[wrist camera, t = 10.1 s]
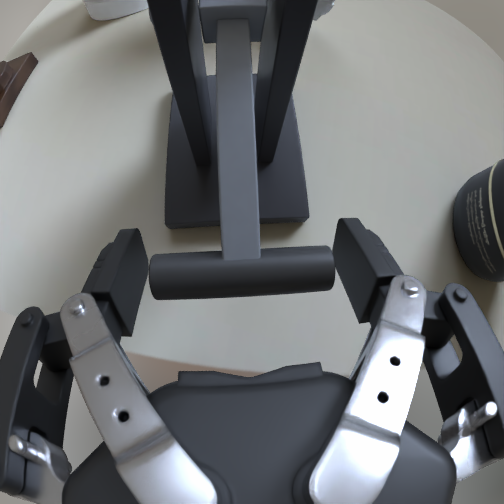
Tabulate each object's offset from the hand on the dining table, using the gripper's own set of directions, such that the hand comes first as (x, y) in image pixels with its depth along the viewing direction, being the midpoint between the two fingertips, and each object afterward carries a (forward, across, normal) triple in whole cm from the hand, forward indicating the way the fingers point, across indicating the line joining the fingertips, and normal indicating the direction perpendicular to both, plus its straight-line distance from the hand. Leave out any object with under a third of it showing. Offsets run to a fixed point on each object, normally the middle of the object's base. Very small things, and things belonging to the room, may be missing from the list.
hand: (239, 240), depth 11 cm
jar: (+6, -22, +4) cm, 24 cm away
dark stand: (+11, 0, -1) cm, 11 cm away
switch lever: (+1, 0, -5) cm, 5 cm away
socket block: (+20, +29, -10) cm, 37 cm away
